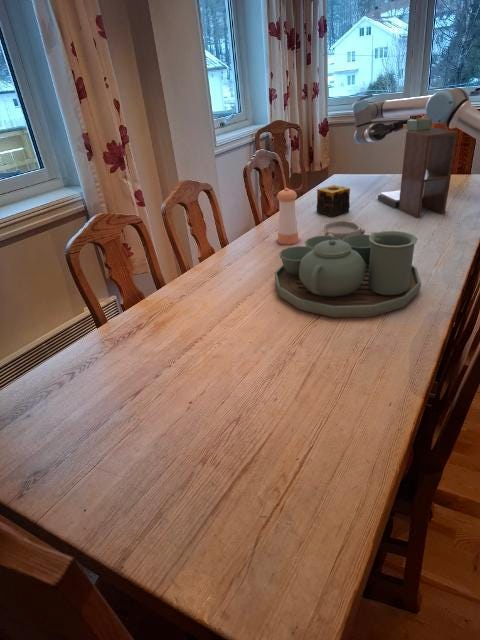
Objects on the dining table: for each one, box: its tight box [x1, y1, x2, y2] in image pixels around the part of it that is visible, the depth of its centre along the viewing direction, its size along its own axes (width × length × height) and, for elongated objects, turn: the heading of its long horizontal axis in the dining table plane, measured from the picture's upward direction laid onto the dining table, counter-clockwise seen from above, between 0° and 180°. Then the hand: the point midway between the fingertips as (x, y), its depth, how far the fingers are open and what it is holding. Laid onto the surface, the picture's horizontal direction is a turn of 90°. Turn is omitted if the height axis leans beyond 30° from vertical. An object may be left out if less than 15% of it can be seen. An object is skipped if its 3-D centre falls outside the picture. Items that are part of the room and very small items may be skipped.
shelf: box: [398, 127, 459, 218], centre depth 168 cm, size 14×12×30 cm
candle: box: [316, 184, 351, 218], centre depth 181 cm, size 10×10×10 cm
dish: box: [322, 220, 366, 241], centre depth 153 cm, size 14×14×5 cm
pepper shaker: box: [276, 187, 299, 245], centre depth 153 cm, size 7×7×19 cm
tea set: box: [274, 230, 422, 318], centre depth 119 cm, size 40×40×16 cm
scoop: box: [400, 118, 432, 131], centre depth 174 cm, size 21×6×4 cm, turn 13°
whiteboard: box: [377, 189, 423, 209], centre depth 187 cm, size 15×14×3 cm
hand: (404, 123), depth 176 cm, fingers closed on scoop, 2 cm apart
